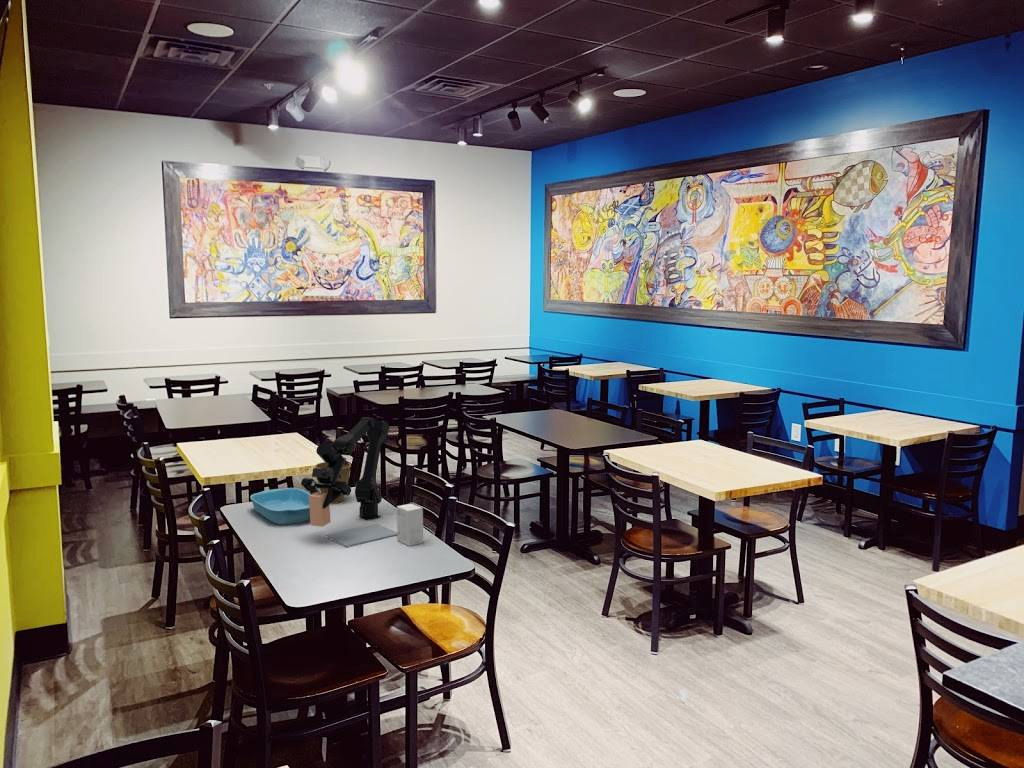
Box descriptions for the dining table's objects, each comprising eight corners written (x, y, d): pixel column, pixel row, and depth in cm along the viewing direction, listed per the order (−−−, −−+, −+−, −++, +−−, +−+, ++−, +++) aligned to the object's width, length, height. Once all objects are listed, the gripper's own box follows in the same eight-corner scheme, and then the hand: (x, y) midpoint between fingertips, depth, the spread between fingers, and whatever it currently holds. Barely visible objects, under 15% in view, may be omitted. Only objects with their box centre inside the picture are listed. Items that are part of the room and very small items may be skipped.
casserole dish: (244, 508, 324) (243, 492, 323) (295, 500, 337) (295, 484, 336) (275, 531, 295) (274, 513, 294) (330, 521, 308) (330, 503, 307)
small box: (423, 542, 282) (423, 507, 280) (408, 546, 278) (408, 511, 276) (411, 537, 288) (411, 502, 286) (396, 540, 284) (396, 505, 282)
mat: (377, 524, 302) (377, 523, 302) (399, 535, 290) (399, 533, 290) (325, 536, 288) (325, 534, 288) (346, 547, 276) (346, 545, 276)
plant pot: (311, 505, 328) (310, 468, 326) (321, 496, 343) (320, 460, 341) (346, 506, 327) (346, 469, 326) (355, 496, 342) (354, 461, 340)
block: (319, 520, 285) (317, 491, 283) (330, 522, 283) (328, 493, 281) (310, 525, 280) (308, 495, 278) (322, 526, 278) (320, 497, 276)
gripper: (301, 456, 285) (284, 494, 276) (344, 460, 278) (328, 499, 269) (316, 471, 293) (300, 508, 285) (358, 475, 286) (343, 513, 278)
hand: (317, 507), depth 279 cm, fingers closed on block, 5 cm apart
